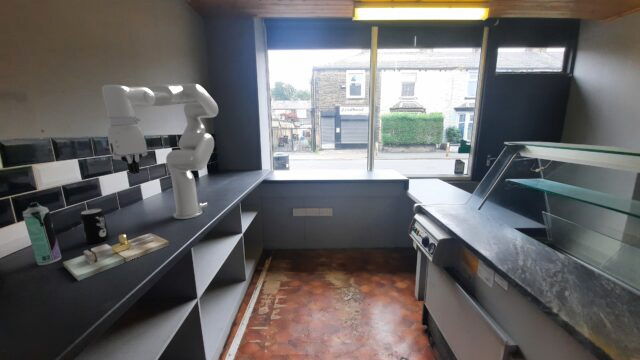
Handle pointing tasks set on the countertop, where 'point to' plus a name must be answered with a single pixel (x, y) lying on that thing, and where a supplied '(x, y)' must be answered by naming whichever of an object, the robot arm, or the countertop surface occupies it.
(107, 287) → the countertop surface
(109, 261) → the latch board
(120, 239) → the bolt
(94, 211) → the beverage can
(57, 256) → the spray can
